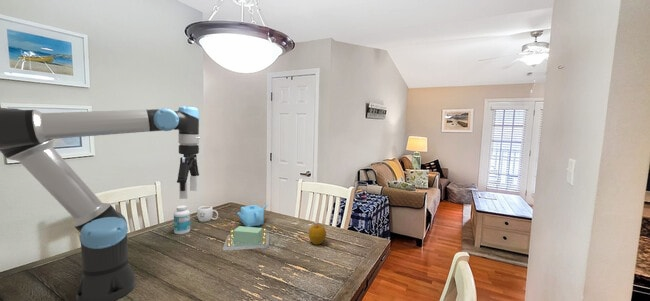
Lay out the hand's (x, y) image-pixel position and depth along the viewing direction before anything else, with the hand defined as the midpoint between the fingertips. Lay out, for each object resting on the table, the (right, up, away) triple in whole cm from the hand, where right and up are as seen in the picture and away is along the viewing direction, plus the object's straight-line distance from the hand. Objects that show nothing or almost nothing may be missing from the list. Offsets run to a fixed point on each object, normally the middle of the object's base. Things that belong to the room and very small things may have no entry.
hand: (188, 194), depth 113 cm
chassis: (+21, -26, +15) cm, 36 cm away
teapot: (+17, -24, +37) cm, 47 cm away
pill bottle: (-16, -24, +25) cm, 38 cm away
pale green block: (+21, -24, +15) cm, 35 cm away
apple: (+54, -27, +16) cm, 62 cm away
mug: (-10, -22, +42) cm, 49 cm away
